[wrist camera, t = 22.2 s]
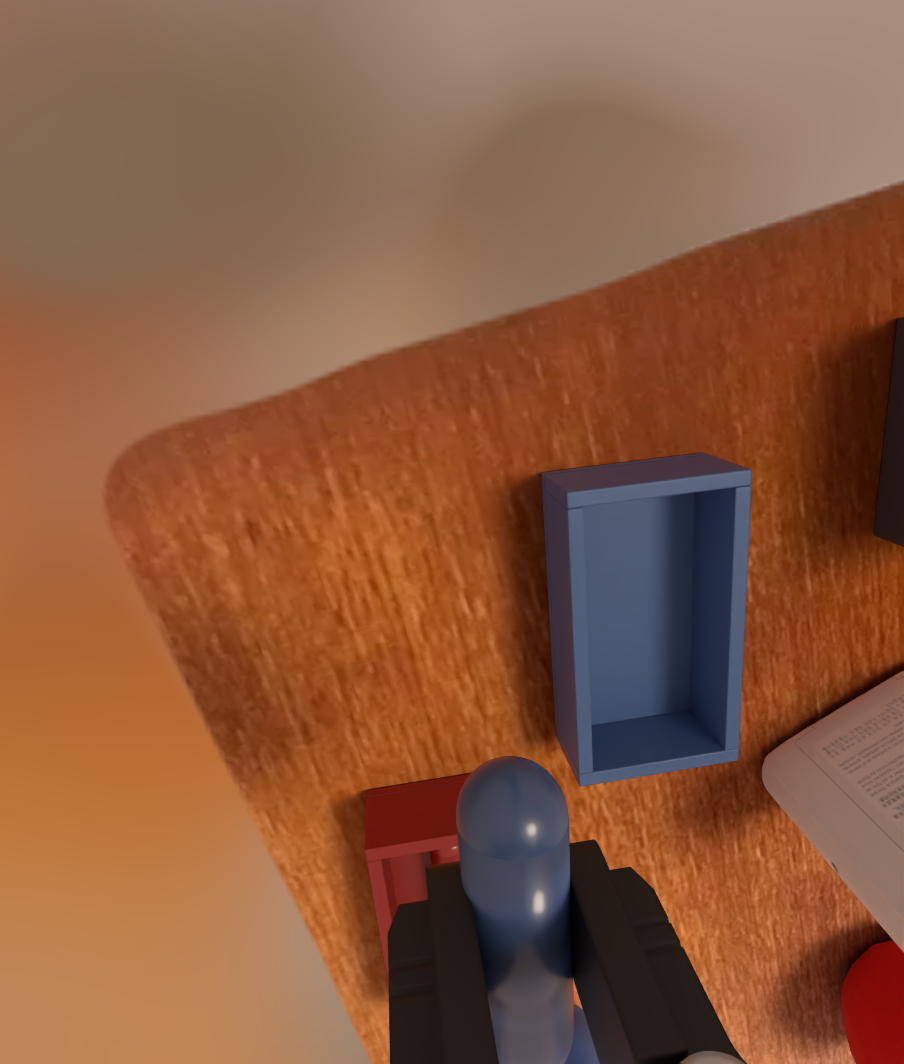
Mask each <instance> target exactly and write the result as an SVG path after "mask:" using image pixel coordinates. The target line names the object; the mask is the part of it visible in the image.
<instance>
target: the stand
mask: <svg viewBox="0 0 904 1064" xmlns="http://www.w3.org/2000/svg"><path fill="white" fill-rule="evenodd" d="M874 535H875V536H878V537H880V538H883V539H885V540H888V541H891V542H893V543H896V544H898V545H901V546H903V547H904V317H902V318H898V320H897V329H896V338H895V347H894V356H893V365H892V374H891V383H890V392H889V401H888V409H887V418H886V427H885V436H884V445H883V454H882V463H881V472H880V481H879V490H878V499H877V508H876V517H875V526H874Z"/></svg>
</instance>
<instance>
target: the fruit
mask: <svg viewBox="0 0 904 1064" xmlns="http://www.w3.org/2000/svg"><path fill="white" fill-rule="evenodd" d="M841 1006H842V1015H843V1022H844V1026H845V1030H846V1035H847V1039H848V1043H849V1047H850V1051H851V1053H852V1055H853V1057H854V1060H855V1062H856V1064H904V952H903V951H902V950H901V949H900V948H899V946H898V945H897V944H896V943H895V942H894V940H891V941H887V942H882V943H878V944H874V945H872V946H871V947H870V948H869V949H868V950H867V951H866V952H864V953H863V954H862V955H861V956H860V957H859V958H858V959H857V960H856V961H855V962H854V963H853V964H852V966H851V968H850V970H849V972H848V974H847V976H846V978H845V980H844V983H843V986H842V995H841Z"/></svg>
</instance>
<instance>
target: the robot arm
mask: <svg viewBox="0 0 904 1064" xmlns="http://www.w3.org/2000/svg"><path fill="white" fill-rule="evenodd" d="M569 849H570V891H571V926H572V961H573V979H574V982H575V985H576V989H577V992H578V995H579V998H580V1002H581V1005H582V1008H583V1011H584V1015H585V1018H586V1021H587V1024H588V1028H589V1031H590V1034H591V1037H592V1041H593V1044H594V1047H595V1050H596V1054H597V1057H598V1060H599V1063H600V1064H747V1063H746V1062H745V1061H744V1060H743V1059H742V1058H741V1056H740V1055H739V1054H738V1052H737V1051H736V1050H735V1048H734V1047H733V1045H732V1043H731V1041H730V1040H729V1038H728V1036H727V1034H726V1032H725V1030H724V1028H723V1026H722V1024H721V1022H720V1020H719V1018H718V1016H717V1014H716V1012H715V1010H714V1008H713V1006H712V1004H711V1002H710V1000H709V998H708V996H707V994H706V992H705V990H704V988H703V986H702V984H701V982H700V980H699V978H698V976H697V974H696V972H695V970H694V968H693V966H692V964H691V962H690V960H689V958H688V956H687V954H686V952H685V950H684V948H683V947H681V945H680V940H679V939H678V937H677V935H676V933H675V931H674V929H673V927H672V925H671V923H669V921H668V917H667V915H666V913H665V911H664V909H663V907H662V905H661V903H660V901H659V899H658V897H657V895H656V893H655V891H654V889H653V888H652V887H651V886H650V885H649V884H648V883H647V882H646V881H645V880H644V879H643V878H641V877H640V876H639V875H638V874H637V873H636V872H635V871H634V870H633V869H632V868H631V867H626V868H620V869H614V870H609V867H608V865H607V863H606V861H605V858H604V856H603V854H602V851H601V849H600V847H599V845H598V843H597V842H596V841H595V840H588V841H582V842H576V843H569ZM425 871H426V882H427V893H428V900H423V901H417V902H410V903H404V904H399V906H398V908H397V911H396V913H395V916H394V918H393V921H392V923H391V926H390V928H389V931H388V968H389V971H388V981H389V1031H390V1064H499V1060H498V1055H497V1049H496V1043H495V1037H494V1031H493V1025H492V1019H491V1013H490V1008H489V1002H488V996H487V990H486V984H485V978H484V972H483V967H482V961H481V955H480V949H479V943H478V937H477V931H476V925H475V920H474V914H473V908H472V902H471V901H470V899H469V898H468V896H467V895H466V893H465V891H464V888H463V884H462V878H461V868H460V861H454V862H448V863H442V864H436V865H429V866H425Z"/></svg>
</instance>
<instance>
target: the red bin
mask: <svg viewBox="0 0 904 1064" xmlns="http://www.w3.org/2000/svg"><path fill="white" fill-rule="evenodd" d="M469 776H470V774H465V775H459V776H453V777H447V778H441V779H434V780H428V781H422V782H416V783H410V784H404V785H397V786H391V787H385V788H379V789H373V790H367V791H366V810H365V856H366V861H367V867H368V872H369V878H370V884H371V889H372V895H373V901H374V906H375V912H376V918H377V923H378V929H379V935H380V940H381V946H382V952H383V957H384V963H385V968H386V974H387V980H388V971H389V968H388V931H389V928H390V926H391V923H392V921H393V918H394V916H395V913H396V911H397V908H398V906H399V904H404V903H410V902H417V901H423V900H428V893H427V882H426V871H425V866H429V865H432V863H431V856H430V851H433V850H439V849H445V848H450V847H456V846H458V837H457V826H456V806H457V801H458V797H459V794H460V791H461V789H462V787H463V785H464V783H465V781H466V780H467V778H468V777H469ZM388 985H389V981H388Z"/></svg>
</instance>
